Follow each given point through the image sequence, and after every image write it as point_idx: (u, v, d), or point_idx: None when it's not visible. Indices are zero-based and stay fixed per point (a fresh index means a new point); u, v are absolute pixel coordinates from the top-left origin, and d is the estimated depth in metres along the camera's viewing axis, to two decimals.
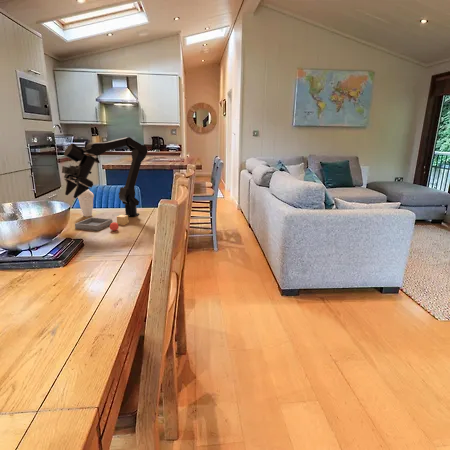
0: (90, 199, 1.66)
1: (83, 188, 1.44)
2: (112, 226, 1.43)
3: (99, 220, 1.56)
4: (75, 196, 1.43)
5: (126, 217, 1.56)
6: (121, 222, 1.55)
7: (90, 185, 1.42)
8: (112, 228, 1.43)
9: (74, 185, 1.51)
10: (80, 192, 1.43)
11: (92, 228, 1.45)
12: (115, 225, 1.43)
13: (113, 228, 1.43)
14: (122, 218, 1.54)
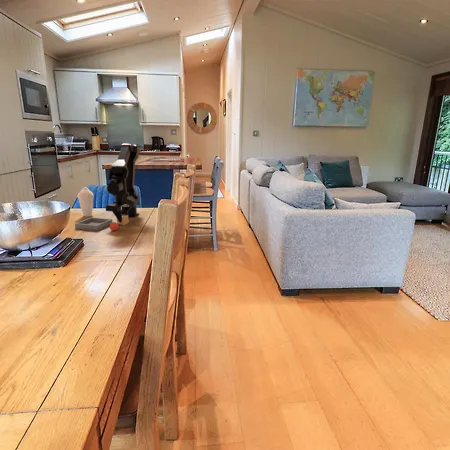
0: (90, 199, 1.66)
1: None
2: (112, 226, 1.43)
3: (99, 220, 1.56)
4: None
5: (126, 217, 1.56)
6: (121, 222, 1.55)
7: None
8: (112, 228, 1.43)
9: None
10: None
11: (92, 228, 1.45)
12: (115, 225, 1.43)
13: (113, 228, 1.43)
14: (122, 218, 1.54)
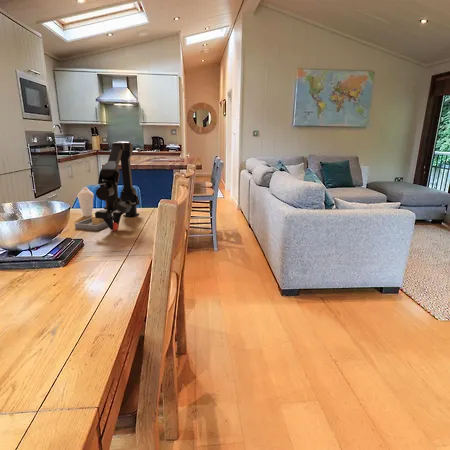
0: (90, 199, 1.66)
1: None
2: None
3: None
4: None
5: None
6: (96, 222, 1.52)
7: None
8: None
9: None
10: None
11: (92, 228, 1.45)
12: (115, 225, 1.43)
13: (113, 228, 1.43)
14: (97, 218, 1.51)
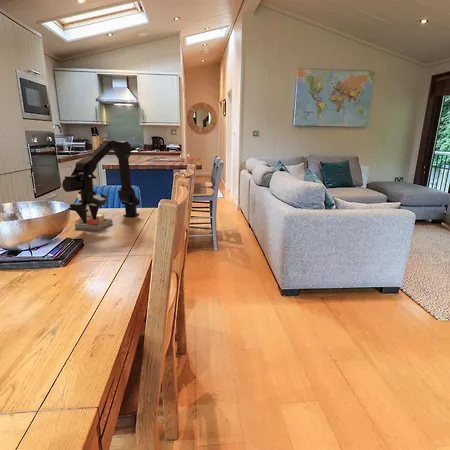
0: None
1: None
2: (88, 222, 1.46)
3: None
4: None
5: (102, 217, 1.53)
6: (96, 222, 1.52)
7: None
8: (88, 224, 1.47)
9: None
10: None
11: (92, 228, 1.45)
12: (91, 221, 1.47)
13: (89, 224, 1.47)
14: (97, 218, 1.51)
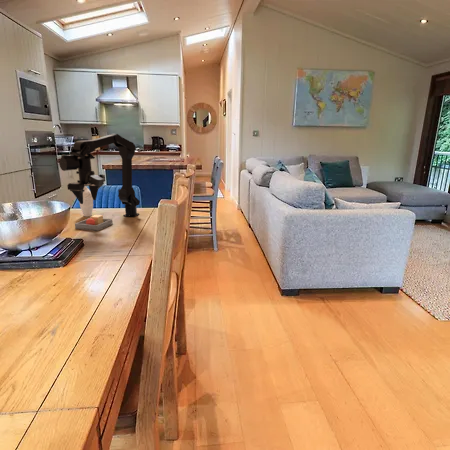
0: (90, 199, 1.66)
1: None
2: (88, 222, 1.46)
3: None
4: None
5: (100, 217, 1.52)
6: (95, 222, 1.51)
7: None
8: (88, 224, 1.47)
9: None
10: None
11: (92, 228, 1.45)
12: (91, 221, 1.47)
13: (89, 224, 1.47)
14: (96, 218, 1.50)
